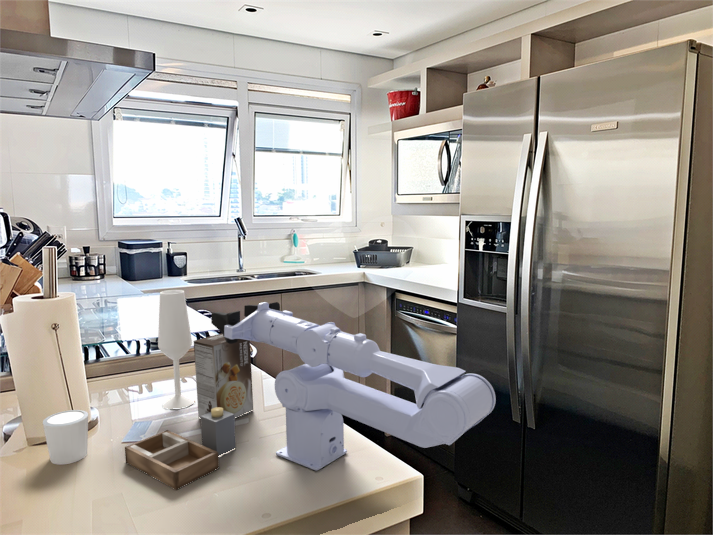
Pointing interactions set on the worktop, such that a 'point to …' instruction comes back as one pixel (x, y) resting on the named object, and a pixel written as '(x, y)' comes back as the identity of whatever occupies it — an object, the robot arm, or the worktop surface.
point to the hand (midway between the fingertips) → (229, 314)
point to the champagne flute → (174, 338)
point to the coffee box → (223, 375)
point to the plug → (218, 430)
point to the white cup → (67, 436)
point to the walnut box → (172, 458)
